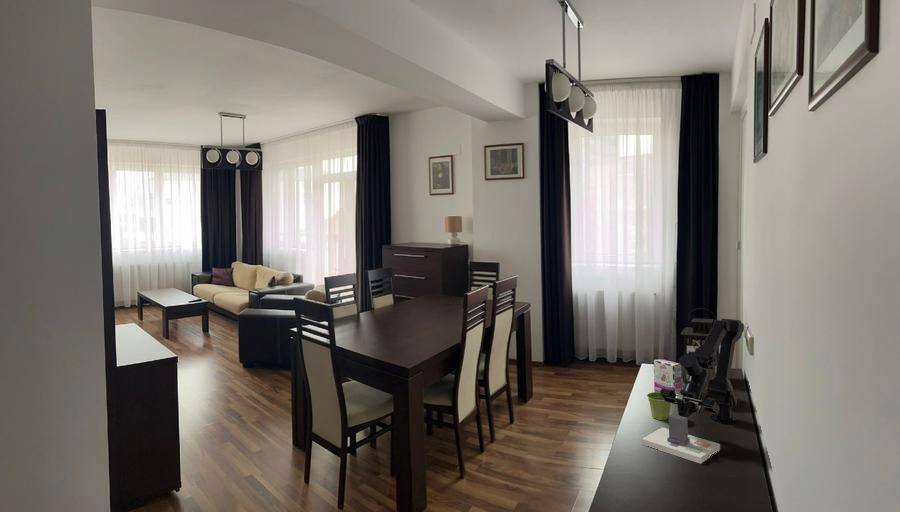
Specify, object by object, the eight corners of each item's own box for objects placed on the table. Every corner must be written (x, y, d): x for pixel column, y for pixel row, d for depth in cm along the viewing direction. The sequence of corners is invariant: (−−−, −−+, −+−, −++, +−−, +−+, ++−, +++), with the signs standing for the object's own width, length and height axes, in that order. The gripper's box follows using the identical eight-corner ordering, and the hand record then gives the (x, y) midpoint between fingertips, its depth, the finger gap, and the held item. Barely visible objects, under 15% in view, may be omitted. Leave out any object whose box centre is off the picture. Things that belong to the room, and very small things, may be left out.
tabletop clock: (680, 393, 220) (679, 337, 219) (701, 392, 220) (700, 336, 219) (695, 404, 206) (694, 345, 204) (717, 404, 206) (716, 344, 204)
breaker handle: (673, 437, 172) (673, 413, 171) (689, 442, 167) (689, 417, 167) (667, 441, 169) (666, 416, 168) (683, 446, 164) (683, 421, 164)
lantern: (725, 376, 240) (724, 305, 238) (722, 387, 225) (721, 311, 223) (686, 372, 249) (684, 303, 247) (681, 382, 235) (679, 309, 233)
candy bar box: (683, 402, 210) (682, 363, 209) (674, 404, 208) (673, 365, 207) (662, 394, 220) (661, 358, 219) (654, 396, 218) (652, 359, 217)
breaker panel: (662, 432, 181) (662, 426, 181) (720, 449, 165) (719, 443, 165) (642, 444, 172) (641, 438, 172) (700, 463, 157) (700, 457, 156)
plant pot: (676, 422, 189) (675, 400, 189) (650, 421, 191) (649, 399, 191) (670, 413, 198) (669, 392, 198) (645, 412, 200) (644, 391, 200)
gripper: (730, 401, 172) (716, 442, 165) (677, 389, 186) (663, 426, 180) (720, 384, 166) (705, 425, 160) (666, 373, 181) (651, 410, 175)
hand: (680, 422), depth 169 cm, fingers closed, pressing on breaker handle
